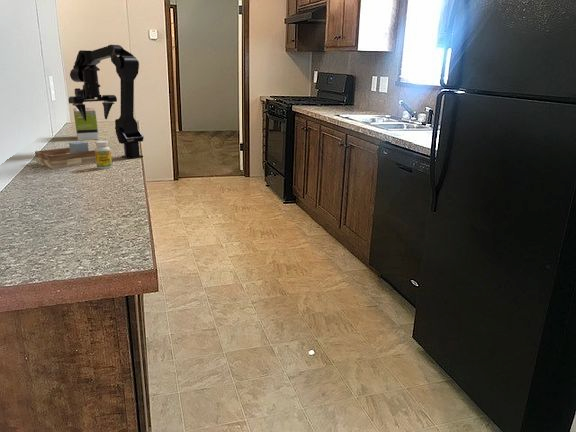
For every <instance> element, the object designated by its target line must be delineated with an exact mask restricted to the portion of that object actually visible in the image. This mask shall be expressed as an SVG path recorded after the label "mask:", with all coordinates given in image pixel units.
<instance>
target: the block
mask: <svg viewBox="0 0 576 432" xmlns="http://www.w3.org/2000/svg"><path fill="white" fill-rule="evenodd" d="M68 146H69V147H68V148H70V153H77V152H85V151H90V150H89V144H88V142H86V141H83V140H80V141H73V142H68Z"/></svg>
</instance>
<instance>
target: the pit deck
mask: <svg viewBox="0 0 576 432" xmlns="http://www.w3.org/2000/svg"><path fill="white" fill-rule="evenodd" d="M34 153H35V160H36V161H35V162H36V163H37V162H38V163H40V164H39V165H41V164H43V165H42V166H44V165H45V166H44V167H46V168H47V167H48V168H50V169H58V168H65V167H73V166H80V165H85V164H93V163H96V156H95V149H94V150H89V151H85V152H77V153H70V148H69V147H62V148H53V149H45V150H36V151H34ZM38 163H37V164H38Z"/></svg>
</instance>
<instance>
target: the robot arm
mask: <svg viewBox="0 0 576 432" xmlns="http://www.w3.org/2000/svg"><path fill="white" fill-rule="evenodd" d="M106 59H110V61H111V63H112V64H113V65H114V66H115V71H116V74H117V75H118V77H119V79H120V80H119V81H120V115H119V118H115V120H114V122H115V123H114V124H115V127H114V130H115V134H116V137H117V141H118V143H119V144H121V145H123V150H124V155H121V158H125V159H128V160H131V159H137V158H144V155H142V154H140V153H141V152H140V143H141V142H144V139H145V138H144V135H143V134H142V133H141V130H140V129H139V126H138V125H139V123H138V122H137V119H135V116H134V113H135V109H134V105H135V104H134V102H135V101H134V99H135V98H134V97H135V93H134V92H135V80H136V78H137V76H138V74H139V70H140V62H139V60H138V59H137V57H135V56H134V54H133V53H131V52H129V51H127V50H126V49H124V47H123V46H122V45H120V44H109V45H107V46H104V47H100V48H97V49H92V50H84V49H83V50H79V51H78V52H77V55H76V58H75V62H74V63H73V64H74V65H73V67H72V69H71V70H70V72H69V77H70V79H71V80H72V81H73V82H76V83H83V84H82V89H81V88H74V96H72V95H71V96H69V97H68V104H72V106H73V107H75V108H78V110H79V111H80V113H81V115H82V117H83V119H84V121H86V109H85V108H86V103H87V102H89V103H91V102H101V103H102V105H103V106H102V107H103V115H104V119H105V120H108V117H109V115H110V112H111V109H112V106H113V105H115V103H116V102H118V98H117V96H116V95H115V94H103V95H102V94H101V92H100V88H101V84H99V77H98V72H99V71H100V68H99V67H98V66H97V65H99V64H100V63H101V61H103V60H106ZM84 103H85V104H84ZM139 142H140V143H139Z"/></svg>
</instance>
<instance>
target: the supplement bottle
mask: <svg viewBox="0 0 576 432" xmlns="http://www.w3.org/2000/svg"><path fill="white" fill-rule="evenodd" d="M108 145H109V143H108V140H100V141H99V140H98V141H97V140H96V141H95V146H96V147H95V148H94V150H95V156H96V162H95V163H96V168H97V169H98V170H104V169H105V170H107V169H111V168H113V162H112V161H113V160H112V152H111V151H112V150H111V147H109V146H108Z"/></svg>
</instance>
